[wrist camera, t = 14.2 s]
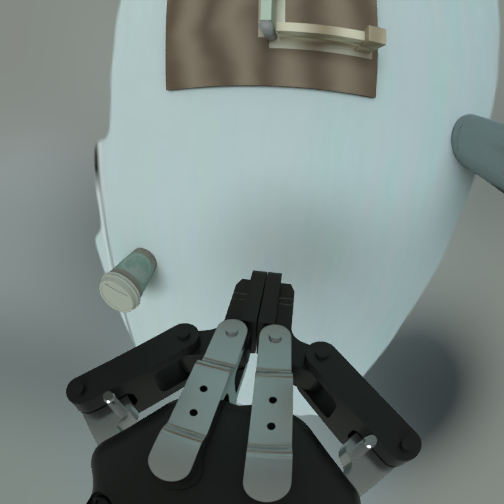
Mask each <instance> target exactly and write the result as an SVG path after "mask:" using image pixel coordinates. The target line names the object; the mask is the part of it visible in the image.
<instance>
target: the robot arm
mask: <svg viewBox="0 0 504 504" xmlns="http://www.w3.org/2000/svg"><path fill="white" fill-rule="evenodd" d="M452 147H453V151H454V154H455V156H456V158H457V159H458V161H459V162H460V163H461V164H462V165H463V166H465V167H467V168H468V169H470V170H471V171H473V172H474V173H476V174H477V175H479V176H480V177H482V178H483V179H485V180H486V181H487V182H489V183H490V184H492V185H493V186H495V187H496V188H497V189H499V190H500V191H501V192H503V193H504V124H501V123H499V122H496V121H493V120H489V119H487V118H483V117H480V116H476V115H471V114H470V115H465V116H463V117H461V118H460V119H459V120H458V121H457V123H456V124H455V127H454V129H453V133H452ZM281 277H282V273H273V272H268V274H267V272H263V271H253V273H252V276H251V280H247V279H242V280H241V281H240V282H239V283H238V284H236V287H235V290H234V293H233V296H232V299H231V302H230V305H229V308H228V311H227V314H226V317H225V320H224V321H223V322H221V323H220V324H219V325H218V327H217V328H215V329H212V330H205V331H198V329H197V328H196V327H195V326H193V325H191V324H187V323H183V324H179V325H176V326H174V327H172V328H171V329H169V330H167V331H165V332H163V333H161V334H159V335H158V336H156V337H154V338H152V339H150V340H148V341H146V342H145V343H143V344H141V345H139V346H137V347H135V348H133V349H131V350H130V351H127V352H126V353H124V354H122V355H120V356H118V357H116V358H114V359H112V360H110V361H108V362H106V363H104V364H102V365H100V366H98V367H97V368H94V369H92V370H90V371H88V372H87V373H85V374H83V375H81V376H79V377H77V378H75V379H73V380H72V381H71V382H70V383H69V384H68V386H67V389H66V394H67V397H68V399H69V400H70V401H71V402H72V403H73V404H74V405H75V406H76V407H77V409H78V410H79V411H80V412H81V413H82V414H83V416H84V418H85V420H86V423H87V425H88V427H89V429H90V431H91V433H92V435H93V437H94V439H95V441H96V443H97V445H98V447H97V448H96V449H95V451H94V453H93V455H92V460H91V468H92V474H93V491H92V495H91V497H90V499H89V500H88V502H87V503H86V504H361V502H360V496H362V495H363V494H364V493H365V492H367V491H368V490H369V489H370V488H372V487H373V486H374V485H375V484H377V483H378V482H379V481H380V480H381V479H383V478H384V477H385V476H386V475H387V474H388V473H389V472H390V471H392V470H393V469H395V468H397V467H399V466H401V465H403V464H404V463H406V462H408V461H409V460H412V459H413V458H415V457H416V456H417V455H418V453H419V452H420V449H421V439H420V437H419V435H418V434H417V433H416V432H415V431H414V430H413V429H412V428H411V427H410V426H409V425H408V424H407V423H406V422H405V421H404V419H403V418H402V417H401V416H400V415H399V414H398V413H397V412H396V411H395V410H394V409H393V408H392V407H391V406H390V405H389V404H388V403H387V402H386V401H385V400H384V399H383V398H382V397H381V396H380V395H379V393H378V392H377V391H376V390H375V389H374V388H373V387H372V386H371V385H370V384H369V383H368V382H367V381H366V380H365V379H364V378H363V377H362V376H361V375H360V374H359V373H358V372H357V371H356V369H355V368H354V367H353V366H352V365H351V364H350V363H349V362H348V361H347V360H346V359H345V358H344V357H343V356H342V355H341V354H340V353H339V352H338V351H337V350H336V349H335V347H333V346H332V345H331V344H329V343H326V342H315V343H312V344H311V345H309V344H306V343H303V342H301V341H299V340H298V339H297V338H296V337H295V336H294V335H293V333H292V330H291V326H292V315H293V302H294V290H293V288H292V286H291V284H284V283H281ZM256 347H257V354H258V357H257V367H256V373H255V382H254V392H253V401H252V405H243V406H238V405H236V402H237V397H238V393H239V390H240V387H241V384H242V381H243V378H244V375H245V372H246V369H247V363H248V361H249V356H250V353H255V352H256ZM293 385H295V386H297V388H298V390H299V392H300V393H301V394H302V396H303V397H304V398H305V399H306V401H307V402H308V403H309V404H310V406H311V407H312V408H313V409H314V411H315V412H316V413H317V414H318V415H319V417H320V418H321V419H322V420H323V422H324V423H325V424H326V425H327V426H328V428H329V429H330V430H331V431H332V432H333V434H334V435H335V436H336V437H337V438H338V440H339V441H340V442H341V443H342V444H343V445H342V447H341V448H340V450H339V459H340V461H341V463H342V465H343V469H344V472H342V471H341V469H340V468H339V467H338V465H337V464H336V463H335V462H334V460H333V459H332V458H331V456H330V455H329V454H328V452H327V451H326V450H325V448H324V447H323V446H322V444H321V443H320V442H319V440H318V439H317V437H316V436H315V435H314V434H313V432H312V431H311V429H310V428H309V427H308V426H307V425H306V424H305V423H304V422H303V421H302V420H301V419H299V418H298V417H296V416H294V415H293ZM183 387H184V389H183V391H182V393H181V395H180V397H179V399H177V400H174V401H172V402H170V403H168V404H166V405H165V406H163V407H161V408H160V409H158V410H157V411H155V412H153V413H152V414H150V415H148V416H147V417H145V418H143V419H142V420H140V421H138V422H137V420H138V417H139V413H140V412H141V411H143V410H145V409H147V408H149V407H150V406H152V405H154V404H156V403H157V402H159V401H161V400H163V399H164V398H166V397H168V396H169V395H171V394H173V393H174V392H176V391H178V390H180V389H181V388H183ZM136 422H137V423H136Z"/></svg>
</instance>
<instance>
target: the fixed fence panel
mask: <svg viewBox="0 0 504 504" xmlns="http://www.w3.org/2000/svg"><path fill="white" fill-rule="evenodd" d="M277 33H278V36H279V38H280V41H299V42H311V43H321V44H330V45H337V46H344V47H350V48H355V51H358V52H364V53H371V52H373V51H374V50H376V49H378V48H380V47H382V46H384V45H386V29H383V28H379V27H375V26H370V25H368V26H367V27H366V28H365V29H364V30H363V31H359V30H353V29H348V28H341V27H334V26H327V25H318V24H307V23H292V22H277Z"/></svg>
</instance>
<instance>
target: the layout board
mask: <svg viewBox="0 0 504 504" xmlns="http://www.w3.org/2000/svg"><path fill="white" fill-rule="evenodd" d="M260 16H261V0H167V15H166V90H174V89H184V88H195V87H209V86H233V85H263V86H287V87H301V88H313V89H322V90H330V91H338V92H345V93H351V94H357V95H363V96H368V97H373V98H375V97H376V81H377V56H378V49H376V50H374V51H373V52H371V53H364V52H358V51H355V48H350V47H344V46H337V45H330V44H321V43H311V42H299V41H280V38H279V36H278V33H277V22H292V23H307V24H318V25H327V26H334V27H341V28H348V29H353V30H359V31H363V30H364V29H365V28H366V27H367V26H368V25H370V26H375V27H378V23H377V0H277V16H276V33H277V39H276V40H275V41H268V40H267V39H266V38H265V36H264V35H263V33H262V32H261V30H260V29H259V27H258V25H259V23H260V22H261V20H260Z"/></svg>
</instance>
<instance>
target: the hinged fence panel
mask: <svg viewBox="0 0 504 504" xmlns="http://www.w3.org/2000/svg"><path fill="white" fill-rule="evenodd" d="M276 16H277V0H261V16H260V20H261V22H260V23H259V25H258V27H259V29H260V30H261V32H262V33H263V35H264V36H265V38H266V39H267V40H268V41H275V40H276V39H277V33H276Z"/></svg>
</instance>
